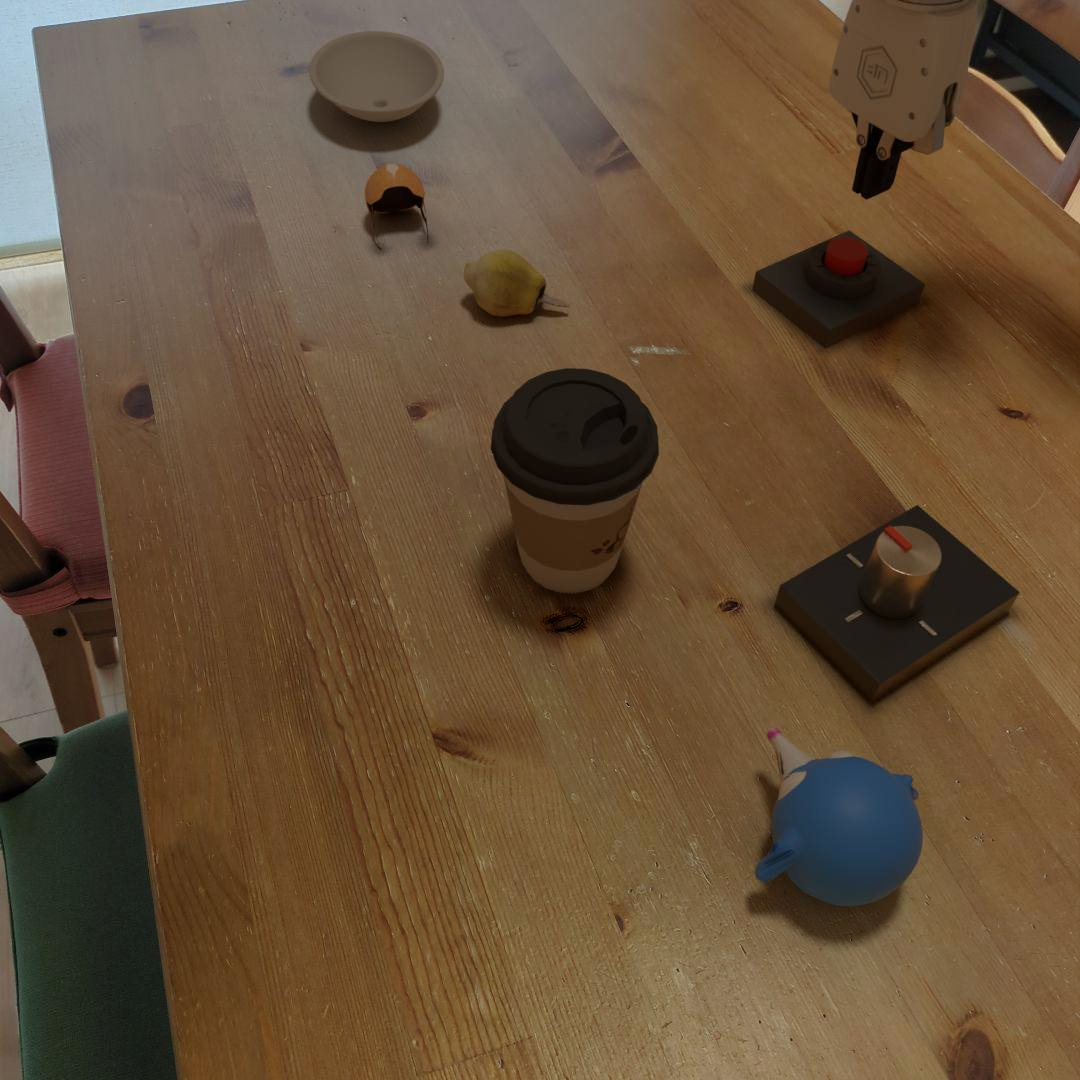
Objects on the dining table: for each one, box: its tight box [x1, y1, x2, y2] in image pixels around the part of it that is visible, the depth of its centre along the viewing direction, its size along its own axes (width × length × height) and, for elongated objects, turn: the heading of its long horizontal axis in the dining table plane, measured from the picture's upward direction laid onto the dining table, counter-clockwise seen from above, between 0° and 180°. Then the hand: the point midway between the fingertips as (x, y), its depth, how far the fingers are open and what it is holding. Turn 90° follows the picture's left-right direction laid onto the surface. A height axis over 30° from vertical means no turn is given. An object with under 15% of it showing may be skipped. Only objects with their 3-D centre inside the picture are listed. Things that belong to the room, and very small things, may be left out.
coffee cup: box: [490, 367, 660, 594], centre depth 79 cm, size 11×11×15 cm
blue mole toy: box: [754, 727, 924, 907], centre depth 67 cm, size 12×12×8 cm
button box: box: [751, 229, 926, 349], centre depth 103 cm, size 12×10×4 cm
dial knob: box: [859, 525, 942, 619], centre depth 77 cm, size 4×4×5 cm
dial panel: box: [774, 504, 1020, 703], centre depth 81 cm, size 14×10×3 cm
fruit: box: [463, 249, 571, 318], centre depth 101 cm, size 6×6×10 cm
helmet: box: [364, 163, 429, 250], centre depth 109 cm, size 6×7×8 cm
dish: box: [308, 30, 445, 123], centre depth 123 cm, size 18×14×5 cm
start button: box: [824, 237, 868, 276], centre depth 101 cm, size 4×4×2 cm
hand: (871, 190), depth 96 cm, fingers closed
